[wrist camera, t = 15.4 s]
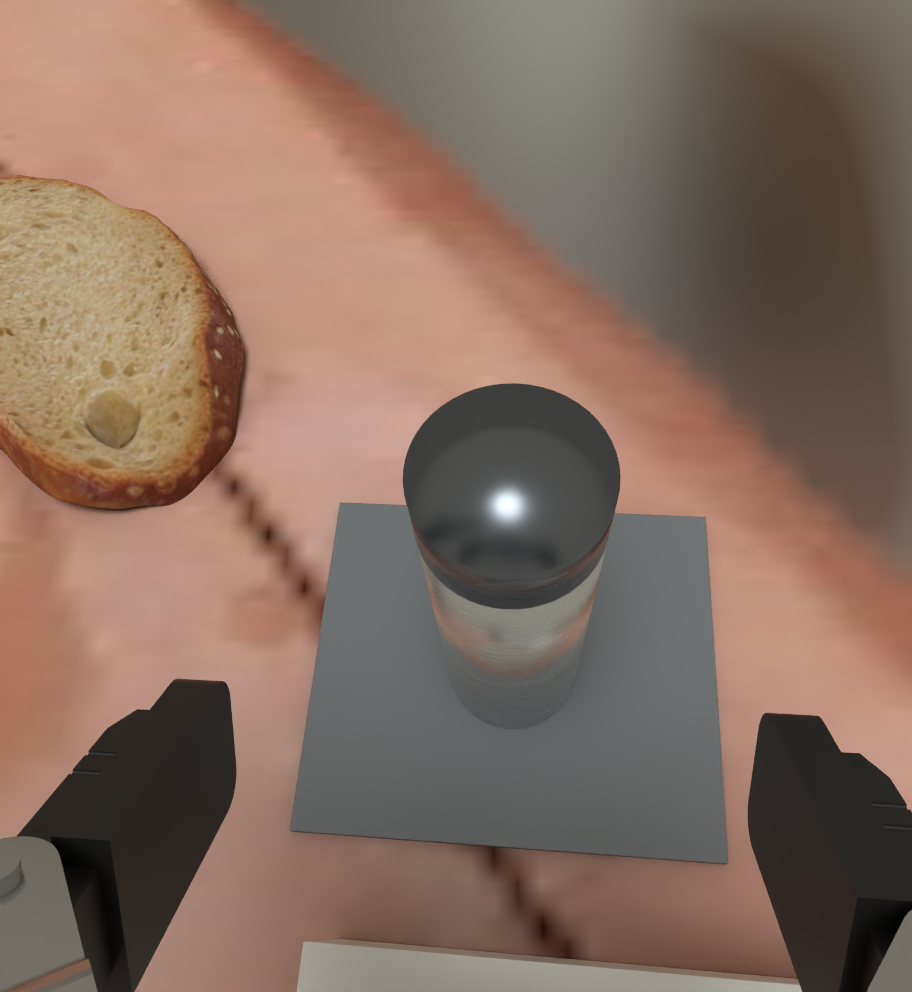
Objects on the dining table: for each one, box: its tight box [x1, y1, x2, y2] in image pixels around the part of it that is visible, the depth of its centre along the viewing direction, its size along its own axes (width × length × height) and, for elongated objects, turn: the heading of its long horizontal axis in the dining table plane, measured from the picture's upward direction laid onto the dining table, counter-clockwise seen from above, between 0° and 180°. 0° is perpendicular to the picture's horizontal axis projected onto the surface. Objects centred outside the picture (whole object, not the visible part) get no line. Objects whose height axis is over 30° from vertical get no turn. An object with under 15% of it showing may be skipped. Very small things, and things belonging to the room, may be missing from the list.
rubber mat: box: [290, 503, 728, 864], centre depth 30 cm, size 14×12×1 cm
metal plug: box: [403, 384, 620, 729], centre depth 23 cm, size 4×4×14 cm
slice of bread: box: [0, 175, 244, 509], centre depth 37 cm, size 18×18×4 cm
